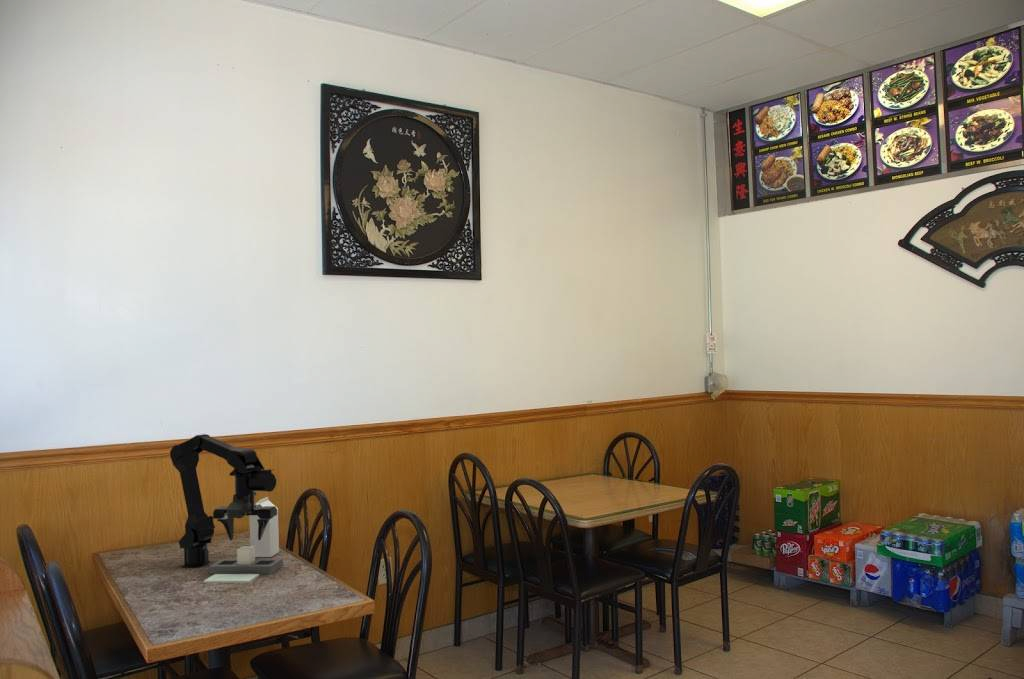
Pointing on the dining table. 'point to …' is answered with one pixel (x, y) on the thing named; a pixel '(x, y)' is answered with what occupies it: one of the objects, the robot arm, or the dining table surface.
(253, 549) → the plug
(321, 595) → the dining table surface
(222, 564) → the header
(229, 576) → the mat
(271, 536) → the milk carton
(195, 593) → the dining table surface
